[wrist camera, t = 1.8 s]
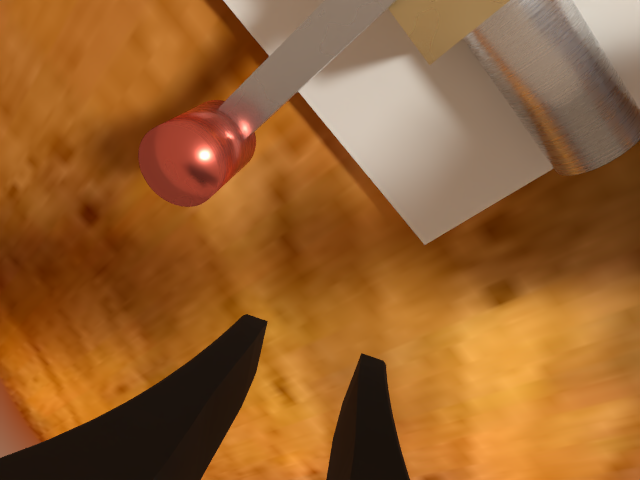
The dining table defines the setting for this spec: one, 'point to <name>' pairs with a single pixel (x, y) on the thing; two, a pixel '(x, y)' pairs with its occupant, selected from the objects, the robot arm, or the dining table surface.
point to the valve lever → (247, 107)
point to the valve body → (537, 72)
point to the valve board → (432, 110)
